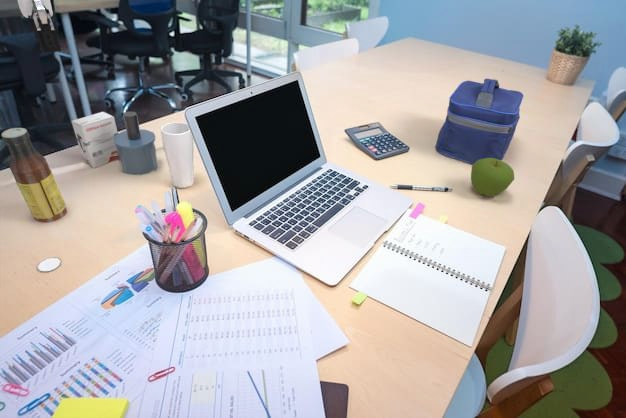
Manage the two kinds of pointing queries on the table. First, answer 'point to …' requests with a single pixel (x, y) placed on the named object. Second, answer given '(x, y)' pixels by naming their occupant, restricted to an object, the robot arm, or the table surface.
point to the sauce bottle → (34, 177)
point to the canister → (138, 159)
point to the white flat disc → (49, 264)
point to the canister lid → (133, 134)
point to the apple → (491, 176)
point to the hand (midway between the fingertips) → (48, 45)
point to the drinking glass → (179, 153)
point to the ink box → (96, 138)
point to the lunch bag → (479, 121)
